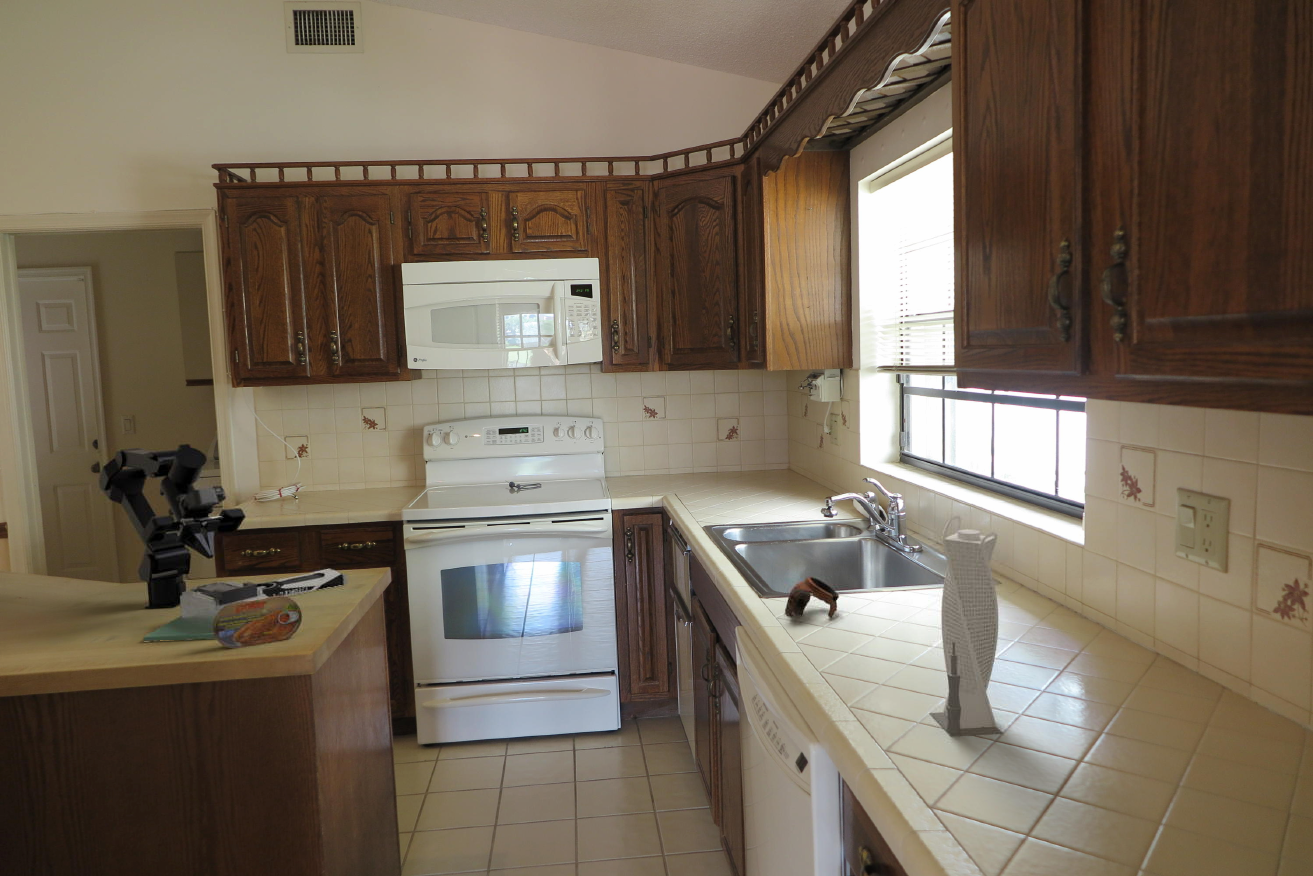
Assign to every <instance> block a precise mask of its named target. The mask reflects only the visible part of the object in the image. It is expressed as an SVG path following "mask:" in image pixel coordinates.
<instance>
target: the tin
mask: <svg viewBox="0 0 1313 876" xmlns="http://www.w3.org/2000/svg"><path fill="white" fill-rule="evenodd" d="M302 619H303V614H302V610H301V607H300V606H299V604H298V603H297V602H296V601H295V600H294V599H292V598H290V596H289V597H286V596H272V597H266V598H260V599H253V600H247V601H240V602H234V603H231V604H228V605H227V606H225V607H224V608H222V609H221V610H220V611H219V613H218V614H217V616H216V617H215V619H214V622H213V633H214V636H215V638H216V639H215V640H216V641H217V642H218V643H219V644H221V645H222V646H223V647H226V648H230V649H239V648H246V646H247V647H251V646H257V645H262V644H263V643H264V644H268V643H269V644H270V643H275V642H279V641H280V642H281V641H284V640H287V639H289V638H290V637H292V636H293V635H294V634H295V633H296V632H297V631H298V630H299V628H300V626H301V624H302Z"/></svg>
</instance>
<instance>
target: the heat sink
mask: <svg viewBox="0 0 1313 876" xmlns="http://www.w3.org/2000/svg"><path fill="white" fill-rule="evenodd" d="M217 583H218V584H222V585H227V586H231V587H236V588H235V589H230V590H222V589H215V590H213V592H214V596H213V595H209V594H205V593H201V592H197V588H195V587H194V588H191V589H190V590H186V591H185V592H182V594H183V595H182V596H180V602H181V604H180V612H181V614H180V615H181V616H182V620H184V621H187V622H189V623H192V624H195V625H198V626H200V627H203V628H206V629H209V630H212V631H213V622H214V619H215V617H216V616H217V614H218V613H219V611H220V610H221V609H222V608H224V607H225V606H227V605H228V604H231V603H234V602H240V601H247V600H253V599H260V598H266V595H265V594H263V593H262V589H258V588H257V583H253V582H249V581H247V582H243V583H240V582H239V583H238V582H235V581H232V580H231V581H226V582H222V581H221V582H217Z"/></svg>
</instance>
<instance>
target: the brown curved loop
mask: <svg viewBox="0 0 1313 876" xmlns="http://www.w3.org/2000/svg"><path fill="white" fill-rule="evenodd" d="M811 594H812V597H813V598H816V599H818V600H819V601H822V602H824V603H826V605H829V611H828V614H827V616H828V617H829V619H831V618H833V617H834V616H835V612H837V610H838V609H837V608H838V604H837V601H838V599H839V598H840V595H839V593H837V591H836V590H835V589H833V587H831V586H830V585H829V584H826V582H824V581H822V580H820V579H818V578H816V577H813V576H806V579H805V580H804V581H800V582H797V583H796V584H795V586H793V588H792V589H791V591H790V594H789V596H788V597H787V598H788V599H787V602H786V605H785V608H784V609H785V610H784V611H785V612H784V613H786V615H787V616H788V617H790V618H791V617H792V615H794V616H799V617H802V616H803V615H804V611H805V609H806V607H807V606H808V603H809V602H810V601H811Z"/></svg>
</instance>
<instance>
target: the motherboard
mask: <svg viewBox="0 0 1313 876" xmlns="http://www.w3.org/2000/svg"><path fill="white" fill-rule="evenodd" d="M187 639H205V640H217V639H216V638H215V636H214V633H213V631H212V630H209V629H206V628H203V627H200V626H198V625H195V624H192V623H189V622H187V621H184V620H182V615H180V616H179V617H177V618H175V619H173V620H171V621H170V622H168V623H166V624H165V625H162V626H160V627H159V628H157V629H156V630H154V631H152V632H150V633H148V634H146V635H145V636H143V642H144V641H155V640H156V641H160V640H184V641H188V640H187Z"/></svg>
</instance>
